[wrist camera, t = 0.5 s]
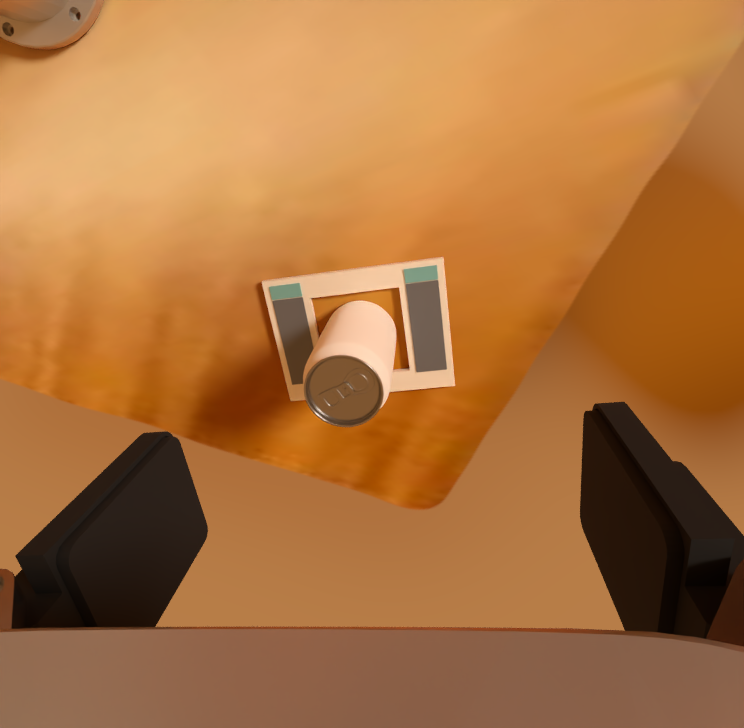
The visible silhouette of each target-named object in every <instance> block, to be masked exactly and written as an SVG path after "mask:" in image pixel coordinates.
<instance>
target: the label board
mask: <svg viewBox="0 0 744 728" xmlns="http://www.w3.org/2000/svg"><path fill="white" fill-rule="evenodd" d="M262 286H263V290H264V294H265V299H266V303H267V307H268V311H269V315H270V319H271V323H272V327H273V331H274V335H275V339H276V344H277V348H278V352H279V356H280V360H281V364H282V368H283V372H284V376H285V380H286V384H287V389H288V393H289V397H290V401H299V400H306V399H305V396H304V385H303V373H304V369H305V366H306V363H307V361H308V359H309V357H310V355H311V353H312V351H313V349H314V347H315V345H316V343H317V341H318V339H319V333H318V328H317V323H316V318H315V313H314V308H313V303H312V299H311V298H317V297H325V296H333V295H341V294H349V293H357V292H365V291H373V290H381V289H389V288H397V287H399V291H400V298H401V306H402V314H403V321H404V329H405V336H406V344H407V352H408V359H409V367H410V368H405V369H396V370H393V373H392V381H391V387H390V392H394V391H405V390H415V389H426V388H437V387H447V386H455V379H454V368H453V357H452V346H451V335H450V325H449V314H448V303H447V292H446V281H445V270H444V259H443V257H437V258H429V259H422V260H414V261H407V262H399V263H392V264H384V265H376V266H369V267H361V268H354V269H346V270H338V271H331V272H323V273H316V274H308V275H301V276H293V277H285V278H278V279H270V280H263V281H262Z"/></svg>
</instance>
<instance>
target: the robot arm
mask: <svg viewBox="0 0 744 728" xmlns="http://www.w3.org/2000/svg"><path fill="white" fill-rule="evenodd" d="M103 3H104V0H0V37H1V38H2V39H4V40H7V41H9V42H12V43H15V44H17V45H20V46H24V47H29V48H33V49H46V50H51V49H56V48H61V47H65V46H67V45H69V44H71V43H73V42H75V41H77V40H78V39H79V38H80V37H81V36H83V35H84V34H85V33H86V32H87V31H88V30H89V29H90V27H91V26H92V24H93V23H94V21H95V20H96V19H97V17H98V15H99V12H100V10H101V7H102V5H103ZM80 15H81V17H80ZM582 450H583V451H582V475H581V501H580V518H581V524H582V528H583V530H584V533H585V536H586V538H587V540H588V543H589V545H590V547H591V550H592V552H593V555H594V557H595V560H596V562H597V564H598V567H599V569H600V572H601V574H602V576H603V579H604V581H605V583H606V586H607V588H608V590H609V593H610V596H611V598H612V600H613V603H614V605H615V607H616V610H617V612H618V615H619V617H620V619H621V622H622V624H623V627H624V629H625V631H619V630H594V629H573V628H470V627H467V628H465V627H461V628H460V627H155V626H156V624H157V623H158V621H159V619H160V617H161V616H162V614H163V612H164V611H165V609H166V607H167V606H168V604H169V602H170V600H171V599H172V597H173V595H174V594H175V592H176V590H177V588H178V586H179V585H180V583H181V581H182V579H183V578H184V576H185V575H186V573H187V571H188V570H189V568H190V566H191V564H192V563H193V561H194V559H195V557H196V556H197V554H198V552H199V551H200V549H201V547H202V546H203V544H204V542H205V540H206V537H207V532H208V529H207V523H206V520H205V517H204V514H203V511H202V508H201V505H200V502H199V499H198V495H197V493H196V489H195V487H194V484H193V480H192V477H191V474H190V471H189V469H188V465H187V462H186V459H185V456H184V453H183V450H182V448H181V444H180V442H179V440H178V439H177V438H176V437H173V436H172V434H171V433H169V432H153V433H143V434H142V435H140V436H139V437H138V438H137V439H136V440H135V441H134V442H133V443H132V444H131V445H130V446H129V447H128V448H127V449H126V450H125V451H124V452H123V453H122V454H121V455H119V456H118V457H117V458H116V459H115V460H114V461H113V462H112V463H111V464H110V465H109V466H108V467H107V468H106V469H105V470H104V471H103V472H102V473H101V474H100V475H99V476H98V477H97V478H96V479H95V480H94V481H92V482H91V483H90V484H89V485H88V486H87V487H86V488H85V489H84V490H83V491H82V492H81V493H80V494H79V495H78V496H77V497H76V498H75V499H74V500H73V501H72V502H71V503H70V504H69V505H68V506H67V507H66V508H65V509H63V510H62V511H61V512H60V513H59V514H58V515H57V516H56V517H55V518H54V519H53V520H52V521H51V522H50V523H49V524H48V525H47V526H46V527H45V528H44V529H43V530H42V531H41V532H40V533H38V535H36V536H35V537H34V538H33V539H32V540H31V541H30V542H29V543H28V544H27V545H26V546H25V547H24V548H23V549H22V550H21V551H20V552H19V553H18V554H17V555H16V558H17V560H18V562H19V564H20V566H21V568H22V570H21V571H20V572H19V573H18V575H16V576H14V574H13V573H12V572H11V571H9V570H7V569H0V728H744V536H743V534H742V533H741V532H740V531H739V530H738V528H737V527H736V526H735V525H734V524H733V523H732V521H731V520H730V519H729V518H728V517H727V515H726V514H725V513H724V512H723V511H722V509H721V508H720V507H719V506H718V505H717V503H716V502H715V501H714V500H713V498H712V497H711V496H710V495H709V494H708V493H707V491H706V490H705V489H704V488H703V487H702V486H701V484H700V483H699V482H698V481H697V479H696V478H695V477H694V476H693V475H692V473H691V472H690V471H689V470H688V469H687V467H686V466H684V465H683V464H682V463H681V462H677V461H672V460H671V459H670V457H669V456H668V455H667V454H666V452H665V451H664V450H663V449H662V447H661V446H660V445H659V444H658V442H657V441H656V440H655V439H654V438H653V436H652V435H651V434H650V433H649V431H648V430H647V429H646V428H645V426H644V425H643V424H642V423H641V421H640V420H639V419H638V418H637V416H636V415H635V414H634V413H633V411H632V410H631V409H630V408H629V407H628V405H627V404H626V403H625V402H614V403H599V404H595V405H594V406H593V410H592V411H585V413H584V421H583V448H582Z"/></svg>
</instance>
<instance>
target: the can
mask: <svg viewBox="0 0 744 728" xmlns="http://www.w3.org/2000/svg"><path fill="white" fill-rule="evenodd" d="M395 346H396V328H395V324H394V322H393V320H392V318H391V317H390V315H389V314H388V313H387V312H386V311H385V310H384V309H382V308H381V307H380V306H378V305H376V304H374V303H371V302H367V301H353V302H349V303H346V304H344V305H342V306H341V307H339V308H338V309H337V310H336V311H335V312H334V313H333V314H332V316H331V317H330V319H329V320H328V322H327V324H326V326H325V328H324V330H323V332H322V333H321V335H320V337H319V339H318V341H317V343H316V345H315V347H314V349H313V351H312V353H311V355H310V357H309V359H308V361H307V363H306V366H305V369H304V373H303V385H304V396H305V399H306V402H307V404H308V406H309V408H310V409H311V410H312V412H313V413H314V414H315V415H316V416H317V417H319V418H320V419H321V420H323V421H325V422H327V423H329V424H331V425H335V426H339V427H353V426H358V425H361V424H363V423H365V422H367V421H369V420H370V419H372V418H373V417H374V416H375V415H376V414H377V412H378V411H379V409H380V408H381V407H382V406H383V405H384V403H385V402H386V400H387V397H388V395H389V392H390V387H391V381H392V373H393V364H394V356H395Z"/></svg>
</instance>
